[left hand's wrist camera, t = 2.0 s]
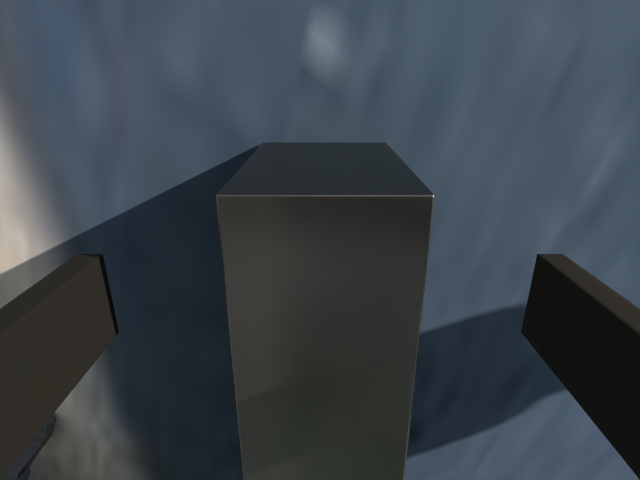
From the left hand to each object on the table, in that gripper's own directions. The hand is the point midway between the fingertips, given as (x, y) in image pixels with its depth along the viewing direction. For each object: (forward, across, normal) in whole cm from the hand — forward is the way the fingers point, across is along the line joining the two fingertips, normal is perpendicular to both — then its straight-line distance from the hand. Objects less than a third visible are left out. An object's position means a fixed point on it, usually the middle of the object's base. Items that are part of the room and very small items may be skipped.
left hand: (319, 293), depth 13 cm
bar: (+7, 0, -14) cm, 16 cm away
